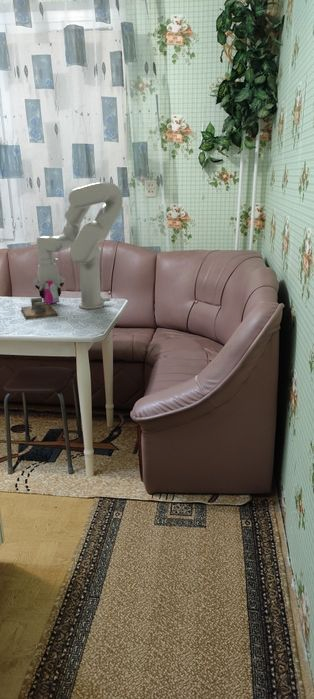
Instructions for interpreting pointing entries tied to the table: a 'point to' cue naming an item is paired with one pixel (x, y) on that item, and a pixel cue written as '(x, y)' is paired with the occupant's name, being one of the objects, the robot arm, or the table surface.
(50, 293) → the supplement box
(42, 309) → the hinge board
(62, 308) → the table surface
